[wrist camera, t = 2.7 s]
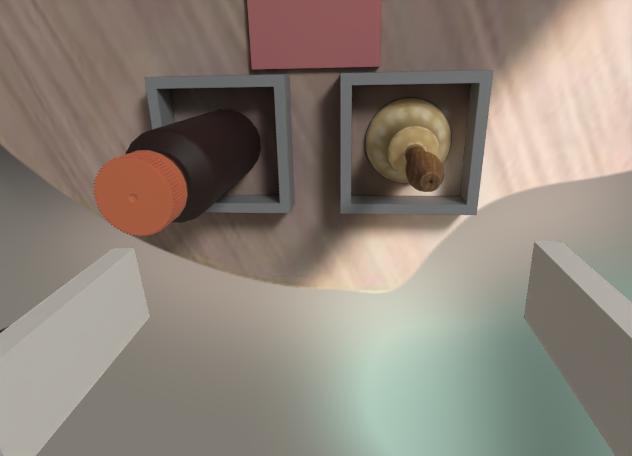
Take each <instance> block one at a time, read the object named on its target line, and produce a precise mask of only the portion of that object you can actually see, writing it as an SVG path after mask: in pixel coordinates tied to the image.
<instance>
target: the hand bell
mask: <svg viewBox="0 0 632 456" xmlns="http://www.w3.org/2000/svg"><path fill="white" fill-rule="evenodd" d="M365 144H366V153H367V156H368V159H369V161H370V163H371V164H372V166H373V167H374V169H375V170H376V171H377V172H378V173H379V174H380V175H382V176H383V177H385V178H387V179H389V180H391V181H394V182H398V183H410V184H411V186H413V187H414V188H415V189H417V190H419V191H424V192H428V191H429V192H432V191H434V190H436V189H438V188H439V186H440V184H441V183H442V181H443V179H444V167H443V163H444V162H445V160H446V158H447V156H448V154H449V151H450V147H451V130H450V126H449V123H448V121H447V119H446V117H445V115H444V114H443V113H442V112H441V110H439V109H438V108H437V107H436V106H435V105H433V104H432V103H430V102H427V101H425V100H422V99H417V98H405V99H400V100H397V101H394V102H392V103H390V104H388V105H386V106H385V107H383V108H382V109H381V110H380V111H379V112H378V113H377V114H376V115H375V117H374V118H373V119H372V121H371V123H370V125H369V127H368V130H367V133H366V140H365Z"/></svg>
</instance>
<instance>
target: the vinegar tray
mask: <svg viewBox="0 0 632 456" xmlns="http://www.w3.org/2000/svg"><path fill="white" fill-rule="evenodd" d="M144 78H145V85H146V92H147V98H148V105H149V111H150V118H151V125H152V130H153V129H156V128H159V127H162V126H166V125H169V124H172V123H174V115H173V108H172V100H171V93H170V88H224V87H274V99H275V118H276V138H277V157H278V176H279V195H223V196H221V197H220V198H219V199H218V200H217V201H216V202H215V203H214V204H213V205H212V206H211V207H210V208H209V209H208V210H206V211H205V212H216V213H291V211H292V209H293V206H294V180H293V154H292V129H291V103H290V78H289V74H275V75H227V76H179V77H144Z"/></svg>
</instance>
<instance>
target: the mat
mask: <svg viewBox="0 0 632 456" xmlns="http://www.w3.org/2000/svg"><path fill="white" fill-rule="evenodd" d="M247 6H248V21H249V35H250V50H251V65H252V69H295V68H340V67H380V33H381V0H247Z"/></svg>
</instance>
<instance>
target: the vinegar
mask: <svg viewBox="0 0 632 456" xmlns="http://www.w3.org/2000/svg"><path fill="white" fill-rule="evenodd" d="M260 150H261V146H260V137H259V134H258V132H257V129H256V127H255V126H254V125H253V123H252V122H251V121H250V119H248V118H247V117H245V116H244V115H243V114H241V113H239V112H236V111H233V110H217V111H213V112H210V113H206V114H203V115H200V116H196V117H193V118H189V119H186V120H183V121H179V122H176V123H172V124H169V125H166V126H162V127H159V128H156V129H153V130H150V131H147V132H144V133H142V134H141V135H140V136H139V137H138V138H136V139H135V140H134V141H133V142H132V143H131V144H130V146H129V148H128V150H127V152H126V154H125V155H123V156H120V157H117V158H114V159H112V160H110V161H109V162H108V163H106V164H105V165H104V166H103V168H100V169H101V170H100V171H99V172H100V173H98V174H97V175H98V176H97V177H96V180H95V181H96V182H95V183H94V184H95V186H94V188H95V190H94V192H95V193H94V194H95V198H96V200H95V201H96V202H97V205H98V208H99V209H100V210H99V211H101V214H102V215H103V217H105V218H106V220H108V221H109V222H110V223H111V225H113V226H114V227H116V228H117V229H119V230H120V231H123V232H126V234H128V233H129V234H130V235H131V234H132V235H133V236H134V235H136V236H138V235H140V237H141V236H142V235H143V236H145V235H146V236H148V235H151V234H155V233H157V232H160V231H161V230H163V229H164V228H165V227H166V226H167V225H169V224H170V223H171V222H185V221H189V220H192V219H195V218H197V217H198V216H200V215H201V214H202V213H204V212H205V211H206V210H208V209H209V208H210V207H211V206H212V205H213V204H214V203H215V202H216V201H217V200H218V199H219V198H220V197H221V196H223V195H224V194H225V193H226V192H227V191H228V190H229V189H230V188H231V187H232V186H233V185H234V184H235V183H236V182H237V181H239V180H240V179H241V178H242V177H243V176H244V175H245V174H246V173H247V172H248V171H249V170H250V169H251V168H252V167H253V166H254V164H255V163H256V161H257V160H258V157H259V154H260Z"/></svg>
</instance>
